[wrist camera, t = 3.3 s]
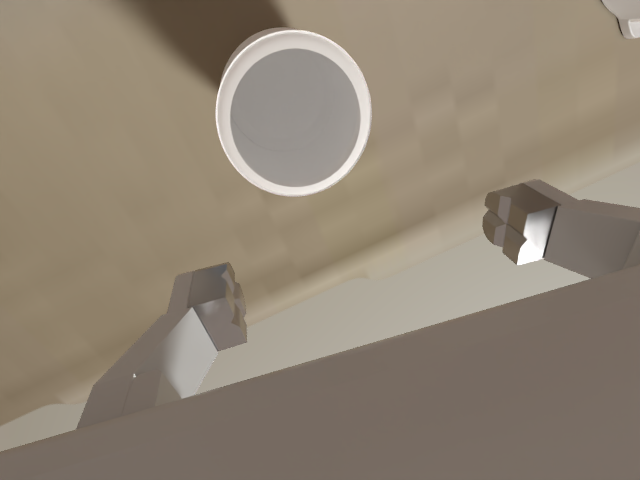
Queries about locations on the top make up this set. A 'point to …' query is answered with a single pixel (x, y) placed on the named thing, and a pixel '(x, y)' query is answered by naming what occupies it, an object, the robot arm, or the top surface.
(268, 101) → the jar
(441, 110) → the top surface
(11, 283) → the top surface
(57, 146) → the top surface
